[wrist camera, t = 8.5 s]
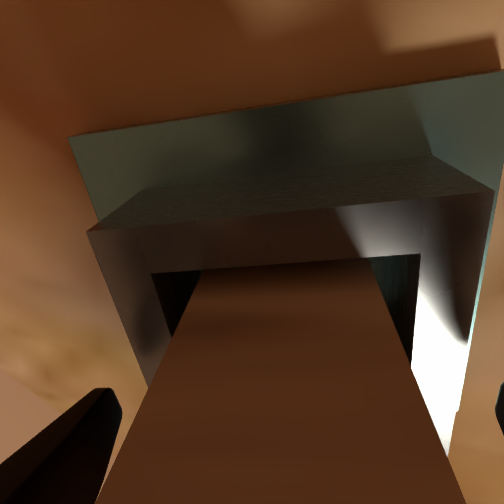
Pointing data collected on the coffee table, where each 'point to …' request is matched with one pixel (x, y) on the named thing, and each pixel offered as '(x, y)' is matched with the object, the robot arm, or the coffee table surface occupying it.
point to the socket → (310, 209)
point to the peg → (284, 399)
